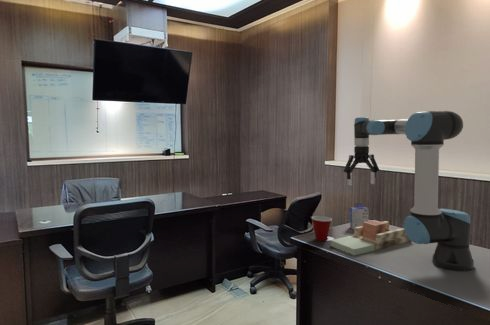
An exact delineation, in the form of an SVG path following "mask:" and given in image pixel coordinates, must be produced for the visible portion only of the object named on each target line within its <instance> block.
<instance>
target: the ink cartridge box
mask: <svg viewBox="0 0 490 325" xmlns="http://www.w3.org/2000/svg"><path fill="white" fill-rule="evenodd" d="M369 210H370V209H369V208H368V207H366V206H363V204H362V203H355V207H349V227H350V229H351V230H354V227H359V226H363V222H366V221H370V220H369V215H370V213H369Z"/></svg>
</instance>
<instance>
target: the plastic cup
mask: <svg viewBox="0 0 490 325" xmlns="http://www.w3.org/2000/svg"><path fill="white" fill-rule="evenodd" d="M311 219H312V225H313V230H314V236H315V240H316V241H318V242H325V241H327V240H328V236H329V233H330V232H329V231H330V226H331V222H332V221H333V218H331V217H330V216H329V217H328V216H325V215H324V216H323V215H312V216H311Z"/></svg>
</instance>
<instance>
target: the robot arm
mask: <svg viewBox="0 0 490 325" xmlns="http://www.w3.org/2000/svg"><path fill="white" fill-rule="evenodd" d="M353 124H354V125H353V129H354V132H353V136H354V147H353V148H354V150H353V152H354V155H352V154H348V155H349V156H348V159H347V162H346V164H345V166H344V169H343V172H344V173H346V179H347V181H348V183H347V185H348V186H351V187H352V186H353V173H352V172H353V171H354V169H355V168H356V166H357V165H359V164H365V165H366V166H367V167H368V168H369V169H370V184H371V185H375V184H376V183H375V182H376V181H375V179H376V178H377V173H378V172H379V171H380V168H379V166H378V164H377V161H376V159H375V154H372V153H370V154H369V152H370V147H369V145H370V136H381V135H382V136H383V135H386V136H387V135H405V136H406V139H407V140H409V141H410V142H411V143H410V146H412V147H413V149H414V151H415V152H414V192H413V193H414V194H413V195H414V196H413V198H414V200H413V201H414V202H413V203H414V204H413V207H412V208H410V209H409V215H408V216H406V217H405V219H404V221H403V228H404V230H405V233H406V235H407V236H408V238H409V239H410V240H411V241H410V242H412V243H414V244H415V245H416V244H417V245H430V244H436V243H437V244H436V247H435V249H434V253H433V254H432V256H431V257H432V258H431V259H432V260H431V261H432V263H433V264H434V265H436V266H438V267H439V268H442V269H447V270H451V271H463V272H464V271H465V272H467V271H472V270H473V269H474V266H475V261H474V259H473V257H472V256H473V255H472V252H471V250H470V240H471V217H470V214H468V213H467V212H465V211H460V210H458V209H457V210H455V209H450V208H439V207H438V206H439V174H440V173H439V170H440V169H439V168H440V167H439V166H440V164H439V163H440V158H439V157H440V148H442V147H443V146H444V141H445V140H452V139H453V138H456V137H457V136H459V135H460V134H461V132H462V131H463V128H464V122H463V118H462V117H461V116H460V115H459V114H458V113H457V112H454V111H449V110H444V111H443V110H441V111H440V110H439V111H438V110H437V111H435V110H431V111H430V110H429V111H428V110H423V111H417V112H414V113H412V114H411V115H410V116H409V118H406V119H405V118H401V119H373V120H370V119H369V117H367V116H366V117H365V116H364V117H363V116H362V117H355V118H354V123H353ZM369 159H370V160H369Z"/></svg>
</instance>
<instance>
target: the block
mask: <svg viewBox="0 0 490 325" xmlns="http://www.w3.org/2000/svg"><path fill="white" fill-rule="evenodd" d="M383 232H386V223H383V221H379V220H375V219H373V220H369V221H366V222H363V237H366V238H369V239H372V240H376V234H379V233H383Z"/></svg>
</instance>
